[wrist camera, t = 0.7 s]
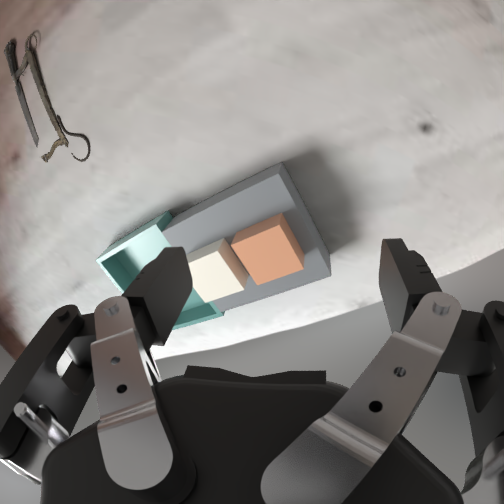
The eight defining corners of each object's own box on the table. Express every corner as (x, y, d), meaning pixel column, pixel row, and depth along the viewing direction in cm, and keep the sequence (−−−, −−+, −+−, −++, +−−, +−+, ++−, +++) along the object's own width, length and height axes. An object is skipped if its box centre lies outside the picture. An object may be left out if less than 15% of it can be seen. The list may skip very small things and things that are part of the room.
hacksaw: (7, 46, 24) (0, 47, 23) (48, 4, 21) (41, 4, 20) (51, 180, 36) (44, 184, 34) (96, 154, 33) (89, 158, 31)
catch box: (168, 210, 35) (155, 224, 32) (229, 297, 40) (223, 315, 37) (108, 246, 39) (95, 260, 36) (165, 318, 45) (157, 334, 42)
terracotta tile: (281, 212, 28) (279, 224, 26) (304, 254, 30) (303, 269, 28) (236, 232, 30) (230, 245, 28) (260, 270, 32) (257, 285, 30)
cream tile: (224, 237, 31) (217, 250, 29) (248, 275, 33) (244, 289, 31) (186, 254, 33) (178, 267, 31) (211, 288, 35) (205, 302, 33)
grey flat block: (282, 161, 30) (278, 173, 26) (329, 255, 34) (331, 275, 31) (175, 216, 35) (161, 232, 32) (228, 291, 40) (220, 311, 36)
